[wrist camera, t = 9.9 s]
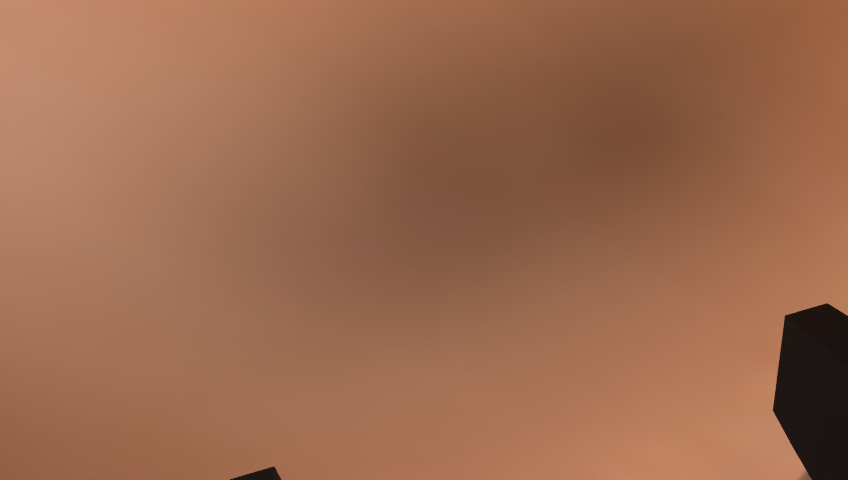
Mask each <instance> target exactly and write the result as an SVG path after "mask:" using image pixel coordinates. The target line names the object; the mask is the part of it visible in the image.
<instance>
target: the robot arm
mask: <svg viewBox="0 0 848 480" xmlns="http://www.w3.org/2000/svg"><path fill="white" fill-rule="evenodd" d="M773 412H774V413H775V415H776V417H777V419H778V421H779V423H780V424H781V426H782V428H783V430H784V432H785V433H786V435H787V437H788V439H789V441H790V443H791V444H792V446H793V448H794V450H795V452H796V453H797V455H798V457H799V458H800V460H801V462H802V464H803V465H804V467H805V469H806V470H807V472H808V474H809V476H810V477H811V479H812V480H848V316H847V315H845V314H844V313H842V312H840V311H839V310H837V309H836V308H834V307H832V306H831V305H829V304H827V303H826V304H823V305H820V306H816V307H813V308H810V309H806V310H803V311H799V312H796V313H793V314H789V315H786V316H785V321H784V328H783V336H782V344H781V352H780V360H779V367H778V375H777V383H776V391H775V399H774V406H773ZM230 480H281V479H280V477H279V475H278V473H277V471H276V469H275V467H271V468H267V469H264V470H260V471H257V472H254V473H250V474H247V475H243V476H240V477H237V478H233V479H230Z"/></svg>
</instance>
